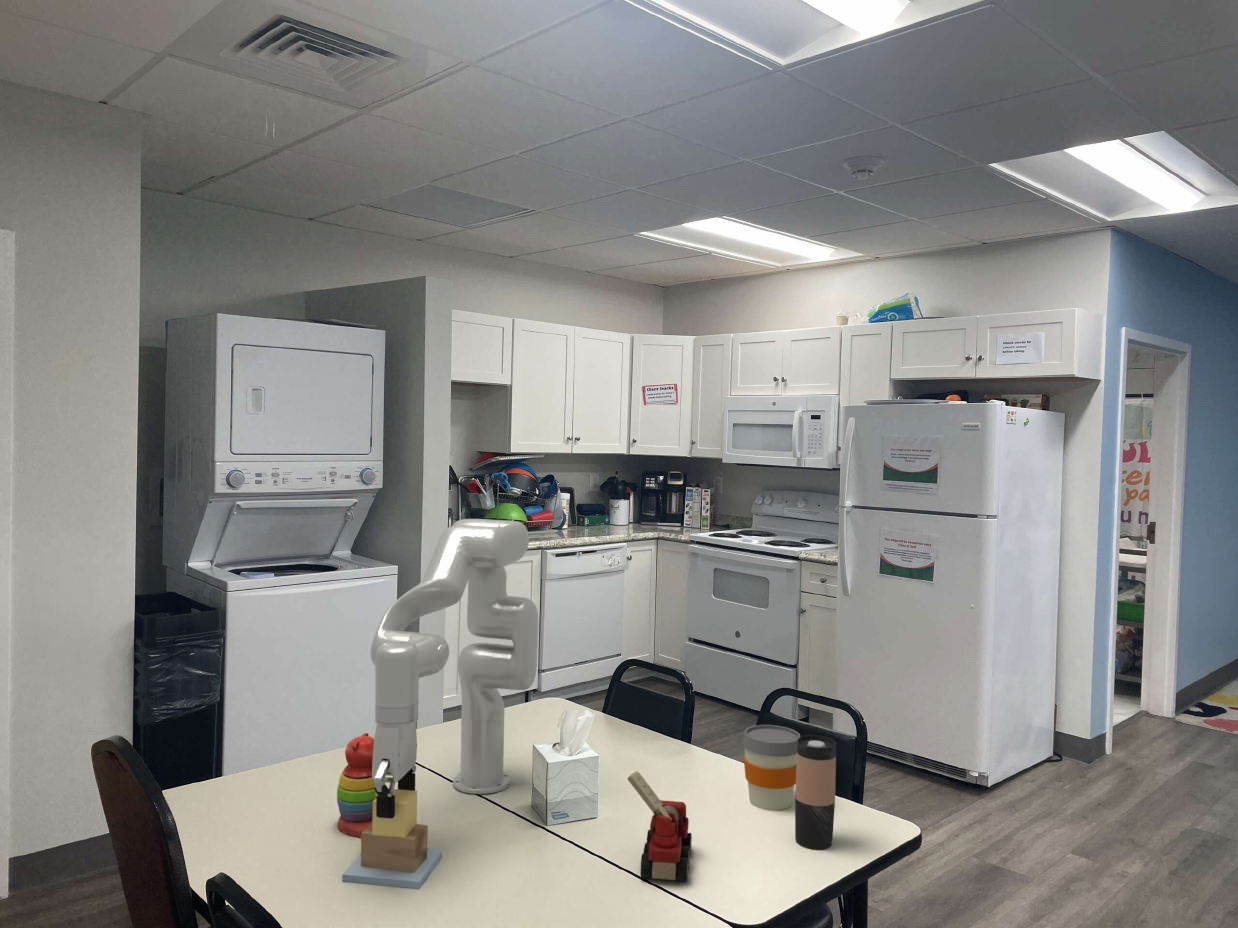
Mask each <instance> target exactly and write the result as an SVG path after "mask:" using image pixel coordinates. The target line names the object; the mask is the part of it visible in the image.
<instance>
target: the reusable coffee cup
mask: <svg viewBox="0 0 1238 928" xmlns="http://www.w3.org/2000/svg"><path fill="white" fill-rule="evenodd" d="M799 737H801V734H800V733H799V732H798V731H796V730H795V729H792V728H790V727H786V726H780V725H774V724H773V725H772V724H758V725H752V726H749V727H747V728H745V730H744V734H743V739H742V740H743V741H742V746H743V748H744V756H743V764H744V766H743V767H744V774H745V775H744V776H745V777H744V778H745V779H746V781H747V787H748V797H749V803H750V804H751V805H752V806H753V807H756V808H759V809H761V810H767V811H783V810H786V809H789V808H790V807H791V805H792V803H793V802H792V801H793V793H794V788H795V786H796V764H797V741H798V738H799Z"/></svg>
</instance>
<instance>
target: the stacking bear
mask: <svg viewBox="0 0 1238 928" xmlns="http://www.w3.org/2000/svg"><path fill="white" fill-rule="evenodd" d="M374 738H375V737H373V736H369V732H365V733H363V734H362V735H360V736H357V737H355V738H352V739H351V740H350V741H349V742H348V743H347V745H346V747H345V750H344V755H345V759H346V760H345V761H346V763H347V765H346V766H345V767H344V769H343V771H341V773H340V776H339V780H338V785H337V790H336V803H337V807H338V811H339V815H340V816H339V818H338V821H337V828H338V829H339V830H340V832H342V833H343V834H347V835H349V836H352V837H358V838H361V833H362V832H363V831H364V830H365V829H367V828H368V827H369V826H370V825H371V824H372V822H373V801H374V800H375V799H376V795H375V793H376V792H375V784H374V780H373V778H372V764H373V747H374ZM384 785H386V782H384Z"/></svg>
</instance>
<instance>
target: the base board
mask: <svg viewBox="0 0 1238 928" xmlns="http://www.w3.org/2000/svg"><path fill="white" fill-rule="evenodd" d="M443 851H444V850H443V849H441V850H440V849H433V848H432V849H430V848H427V859H426V860H425V861H424V862H423V863H422V864H421V865H420V866H419V867H418V868H417V870H416V871H415V872H414V873H407V872H400V871H392V870H385V869H377V868H370V867H362V866H361V854H360V855H359V856H358V857H357V858H356V859H355V860H354V861H353V862H352V864H350V866H349V867H348V868H347V869H346V870H345V871H344V872H343V873H342V875H341V876H342V877H341V878H342V879H341V881H342V882H347V883H355V884H356V883H359V884H366V885H367V884H368V885H379V886H385V887H387V886H388V887H396V888H397V887H398V888H408V889H415V890H416V889H418V890H419V889H420V888H421V887H422V885H424V883H425V881H426V880H427V879H428V877H429V876H430V874H431V873H432V872H433V871H434V869H435V868H436V866H437V865H439V863H440V861H441V859H442V858H443Z"/></svg>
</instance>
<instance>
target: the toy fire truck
mask: <svg viewBox="0 0 1238 928" xmlns="http://www.w3.org/2000/svg"><path fill="white" fill-rule="evenodd" d="M627 781H628V782H629V783H630V785H631V786H632V788H634V790H635V791H636V793H637V794H638V795H639V796H640V798H641V799H642V800H643V802H644V803H645V805H646V806H647V807H648V808H649V809H650V810H651V812H652V813H653V815H652V816H651V820H650V824H649V829H647V835H646V842H645V843H644V848H643V853H641V857H640V858H641V859H640V875H639V876H640V878H641V879H650V880H652V879H656V880H665V881H666V880H667V881H676V882H688V878H689V870H690V863H691V862H690V861H691V855H692V841H693V840H692V839H693V837H692V836H693V835H692V833H691V832H688V831H689V823H690V822H689V820H690V819H689V818H688V817H687V805H686V803H685V802H683V801H675V800H662V799H661V800H660V798H659V797H658V795H657V794H656V793H655V792H654V790H653V789H652V788H651V786H650V785H649V783H648V782H647V781H646V780H645V778H644V777H643V776H642V775H641V773H640V772H639V771H637V770H636V771H634V772H632V773H631V774H630V775H629V776H628V777H627Z"/></svg>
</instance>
